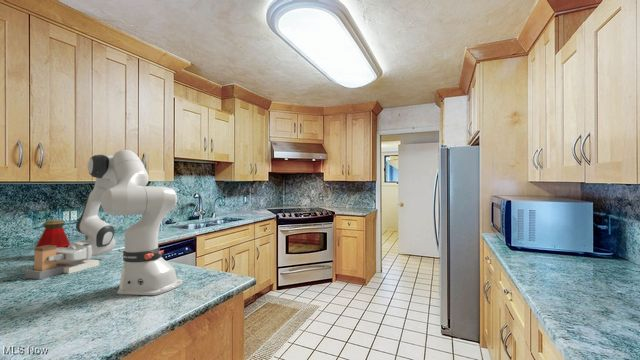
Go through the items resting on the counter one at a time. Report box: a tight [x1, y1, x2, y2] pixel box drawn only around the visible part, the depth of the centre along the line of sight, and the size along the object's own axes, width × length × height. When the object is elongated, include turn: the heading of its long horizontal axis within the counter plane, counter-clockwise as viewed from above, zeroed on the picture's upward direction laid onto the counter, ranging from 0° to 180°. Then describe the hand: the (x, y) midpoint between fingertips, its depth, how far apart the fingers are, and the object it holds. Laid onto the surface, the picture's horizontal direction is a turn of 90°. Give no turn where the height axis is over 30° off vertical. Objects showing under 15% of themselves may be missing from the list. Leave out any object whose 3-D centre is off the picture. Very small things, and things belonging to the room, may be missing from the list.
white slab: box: [24, 258, 100, 280], centre depth 127 cm, size 20×22×3 cm
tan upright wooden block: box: [33, 245, 56, 271], centre depth 120 cm, size 5×5×12 cm
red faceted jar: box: [35, 219, 71, 248], centre depth 151 cm, size 16×14×20 cm
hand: (43, 258), depth 120 cm, fingers closed on tan upright wooden block, 5 cm apart
